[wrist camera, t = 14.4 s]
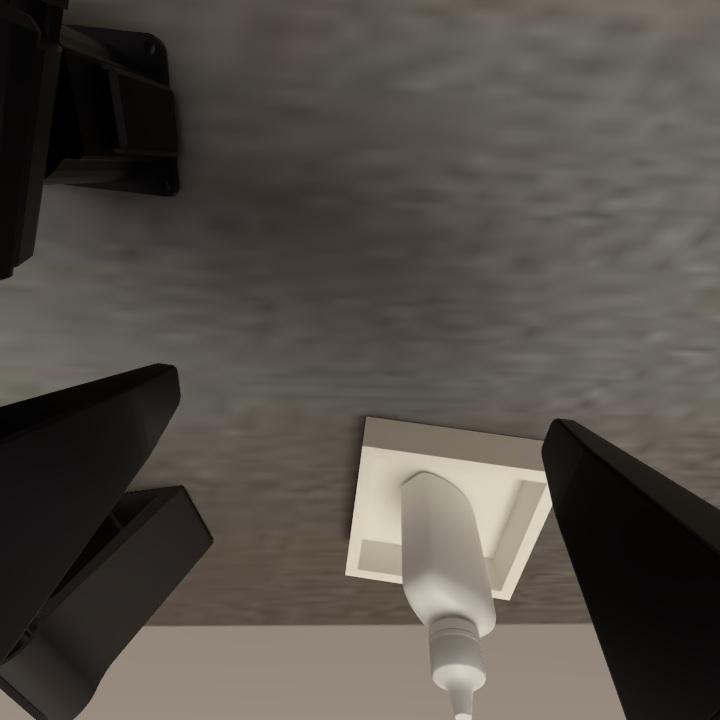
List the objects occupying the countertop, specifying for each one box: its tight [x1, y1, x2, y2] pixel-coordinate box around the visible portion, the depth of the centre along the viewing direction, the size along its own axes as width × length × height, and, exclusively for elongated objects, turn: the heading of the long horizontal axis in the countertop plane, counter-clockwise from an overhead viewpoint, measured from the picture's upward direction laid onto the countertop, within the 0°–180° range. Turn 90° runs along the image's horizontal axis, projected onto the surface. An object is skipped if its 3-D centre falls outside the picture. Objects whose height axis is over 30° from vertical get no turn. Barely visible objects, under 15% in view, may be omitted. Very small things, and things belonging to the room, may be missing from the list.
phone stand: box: [0, 486, 213, 720], centre depth 26 cm, size 9×6×12 cm, turn 103°
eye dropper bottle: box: [401, 473, 496, 720], centre depth 21 cm, size 4×6×12 cm
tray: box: [345, 416, 552, 600], centre depth 26 cm, size 12×12×3 cm
